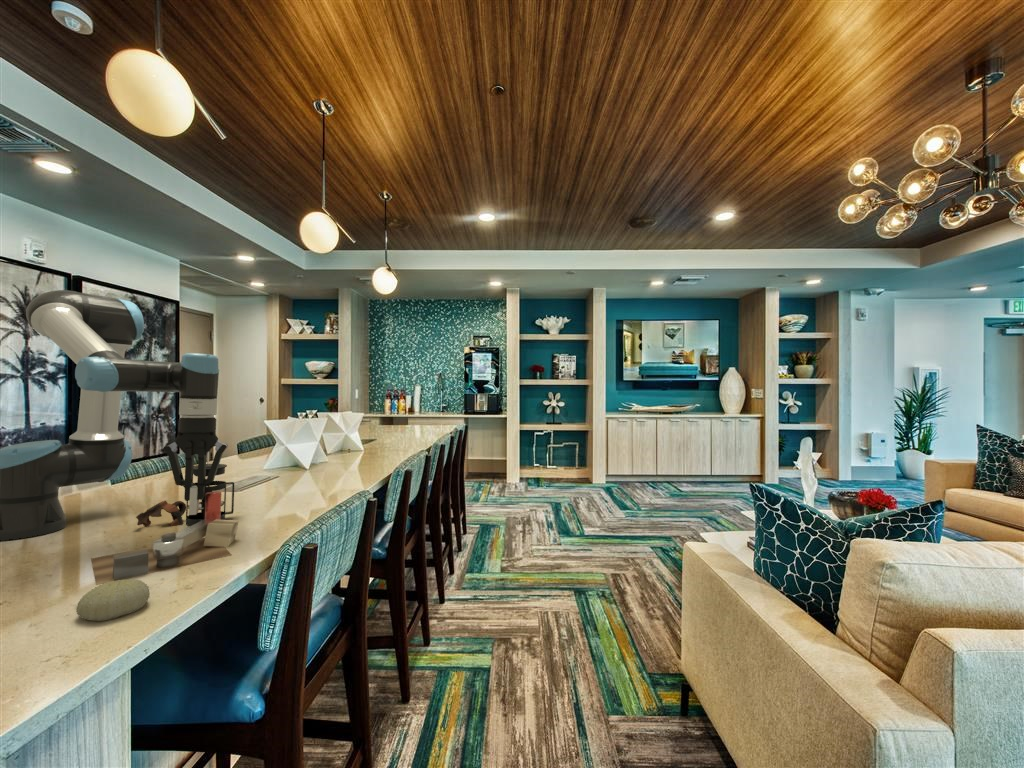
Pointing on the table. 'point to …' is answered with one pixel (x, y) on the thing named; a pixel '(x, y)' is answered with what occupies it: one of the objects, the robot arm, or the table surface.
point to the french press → (209, 488)
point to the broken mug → (169, 508)
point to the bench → (151, 560)
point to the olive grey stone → (113, 600)
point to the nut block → (221, 533)
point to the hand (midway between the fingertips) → (193, 513)
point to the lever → (189, 530)
